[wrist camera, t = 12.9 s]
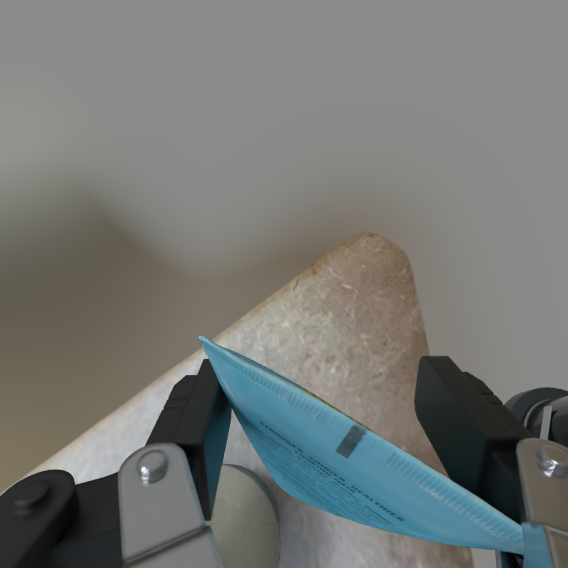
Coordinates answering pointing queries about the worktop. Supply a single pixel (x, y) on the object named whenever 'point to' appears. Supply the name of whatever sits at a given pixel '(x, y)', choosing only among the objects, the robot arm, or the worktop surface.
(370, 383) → the worktop surface
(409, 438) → the worktop surface
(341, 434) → the tube
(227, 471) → the tea tin
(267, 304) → the worktop surface
